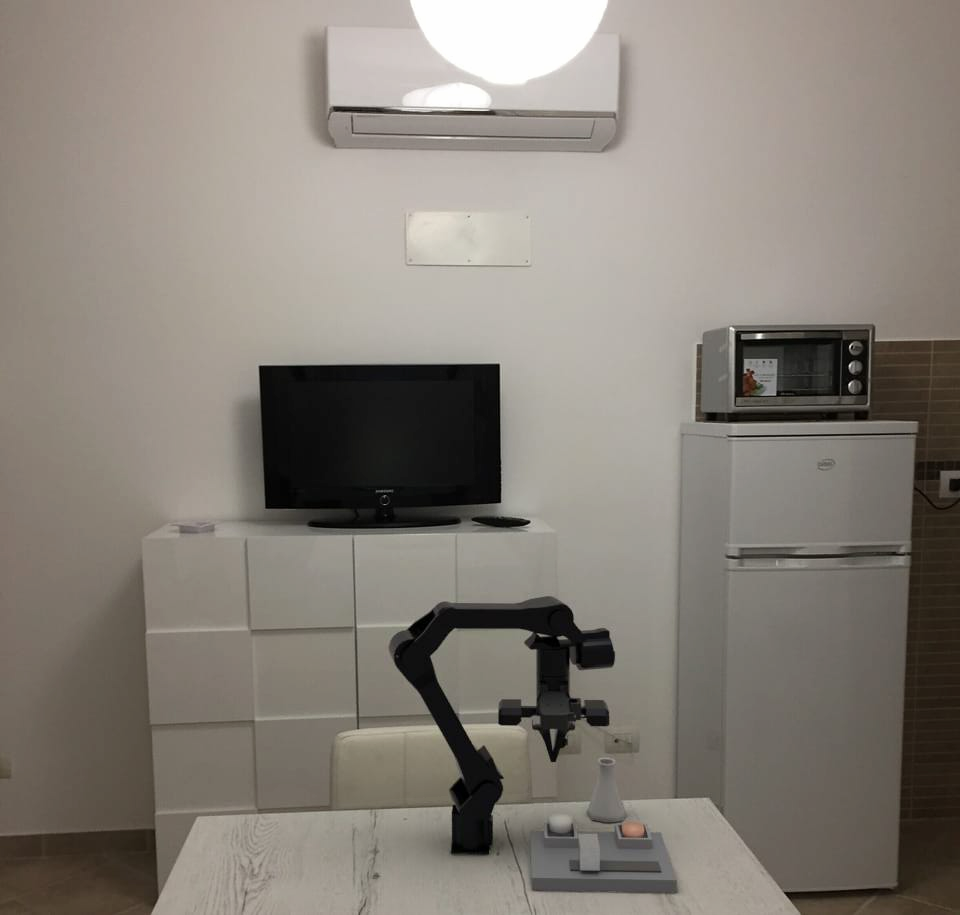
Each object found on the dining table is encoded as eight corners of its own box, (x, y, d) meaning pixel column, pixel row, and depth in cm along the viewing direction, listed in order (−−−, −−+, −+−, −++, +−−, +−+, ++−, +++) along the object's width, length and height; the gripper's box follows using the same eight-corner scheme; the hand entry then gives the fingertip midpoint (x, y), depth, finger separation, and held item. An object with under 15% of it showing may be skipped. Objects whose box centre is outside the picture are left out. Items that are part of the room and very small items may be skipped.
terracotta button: (623, 843, 143) (623, 831, 143) (620, 832, 146) (620, 821, 146) (645, 843, 143) (645, 832, 142) (642, 833, 146) (642, 821, 146)
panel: (531, 890, 133) (531, 867, 133) (530, 841, 148) (530, 821, 148) (676, 893, 132) (676, 869, 132) (660, 843, 147) (660, 823, 147)
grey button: (550, 832, 143) (550, 821, 143) (549, 822, 147) (549, 810, 147) (572, 833, 143) (572, 821, 143) (570, 822, 147) (570, 811, 146)
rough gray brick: (580, 870, 134) (580, 847, 134) (578, 855, 139) (578, 833, 138) (599, 870, 134) (599, 847, 134) (597, 855, 138) (597, 833, 138)
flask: (625, 806, 161) (625, 753, 161) (627, 825, 154) (628, 769, 154) (585, 804, 162) (586, 752, 162) (586, 823, 155) (586, 768, 154)
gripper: (497, 686, 141) (497, 780, 142) (613, 687, 141) (612, 782, 141) (498, 666, 152) (499, 753, 153) (606, 667, 152) (605, 754, 153)
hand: (553, 761), depth 150 cm, fingers closed
